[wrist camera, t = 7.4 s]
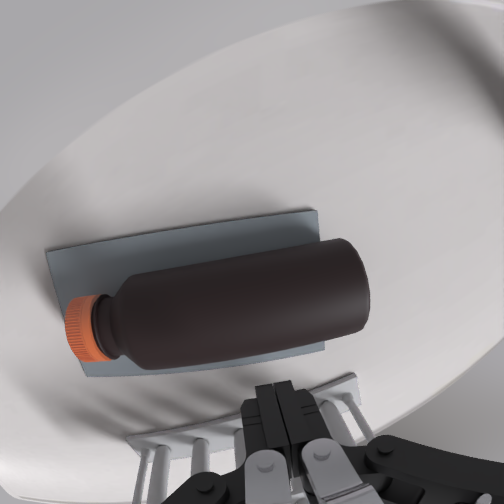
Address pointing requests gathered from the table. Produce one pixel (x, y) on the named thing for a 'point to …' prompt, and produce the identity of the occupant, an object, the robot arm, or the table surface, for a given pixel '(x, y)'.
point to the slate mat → (169, 256)
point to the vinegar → (225, 308)
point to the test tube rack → (237, 440)
